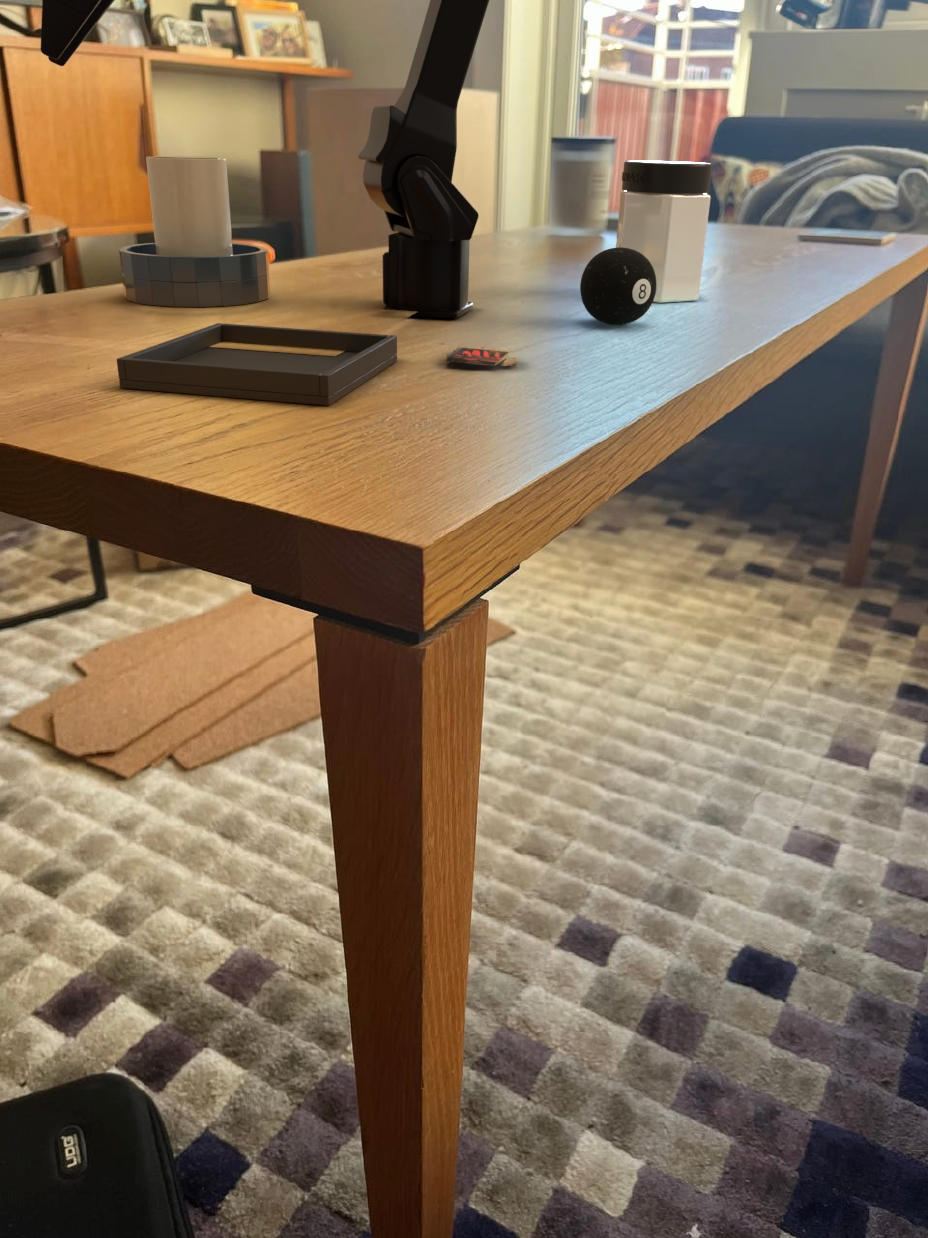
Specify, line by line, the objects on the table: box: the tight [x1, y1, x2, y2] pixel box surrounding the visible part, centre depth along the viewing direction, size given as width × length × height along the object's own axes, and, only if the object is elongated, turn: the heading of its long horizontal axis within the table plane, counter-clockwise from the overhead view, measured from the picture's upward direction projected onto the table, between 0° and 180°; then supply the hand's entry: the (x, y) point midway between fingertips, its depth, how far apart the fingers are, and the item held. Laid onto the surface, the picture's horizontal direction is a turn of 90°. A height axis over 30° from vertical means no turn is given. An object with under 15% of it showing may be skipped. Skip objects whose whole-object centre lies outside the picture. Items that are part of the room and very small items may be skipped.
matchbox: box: [446, 346, 518, 368], centre depth 68 cm, size 5×5×1 cm
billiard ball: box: [579, 247, 657, 326], centre depth 81 cm, size 6×6×6 cm
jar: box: [615, 160, 713, 304], centre depth 96 cm, size 9×8×12 cm
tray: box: [116, 322, 398, 407], centre depth 63 cm, size 13×13×2 cm
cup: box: [145, 155, 233, 256], centre depth 85 cm, size 6×6×11 cm
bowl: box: [118, 242, 271, 308], centre depth 86 cm, size 12×12×4 cm
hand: (52, 60), depth 70 cm, fingers open, 9 cm apart
